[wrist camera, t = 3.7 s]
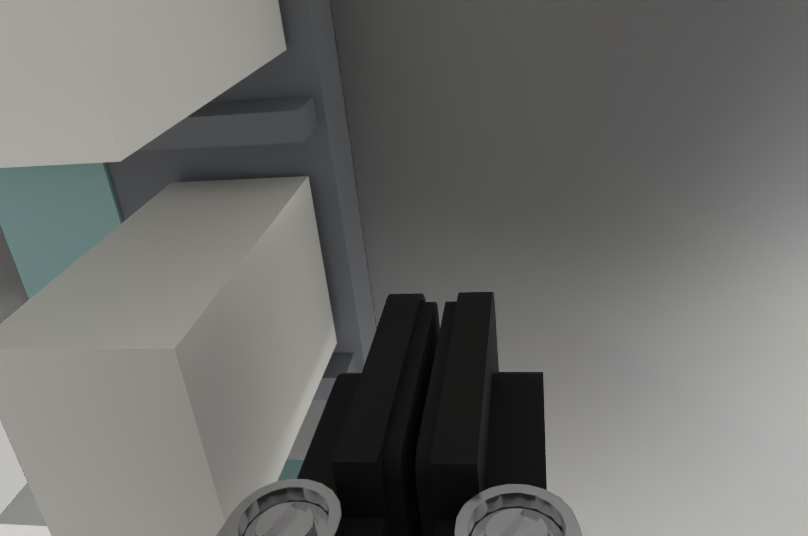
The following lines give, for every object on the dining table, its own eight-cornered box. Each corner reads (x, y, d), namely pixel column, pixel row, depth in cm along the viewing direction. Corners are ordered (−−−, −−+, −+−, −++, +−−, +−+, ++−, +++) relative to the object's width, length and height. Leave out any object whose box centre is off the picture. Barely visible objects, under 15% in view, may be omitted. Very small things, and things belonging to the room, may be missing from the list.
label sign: (384, 384, 19) (339, 533, 15) (388, 415, 20) (346, 568, 15) (105, 382, 21) (-11, 516, 16) (115, 411, 21) (5, 549, 17)
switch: (308, 176, 15) (174, 348, 9) (337, 342, 17) (239, 569, 11) (171, 182, 15) (-32, 348, 10) (213, 343, 17) (61, 560, 12)
